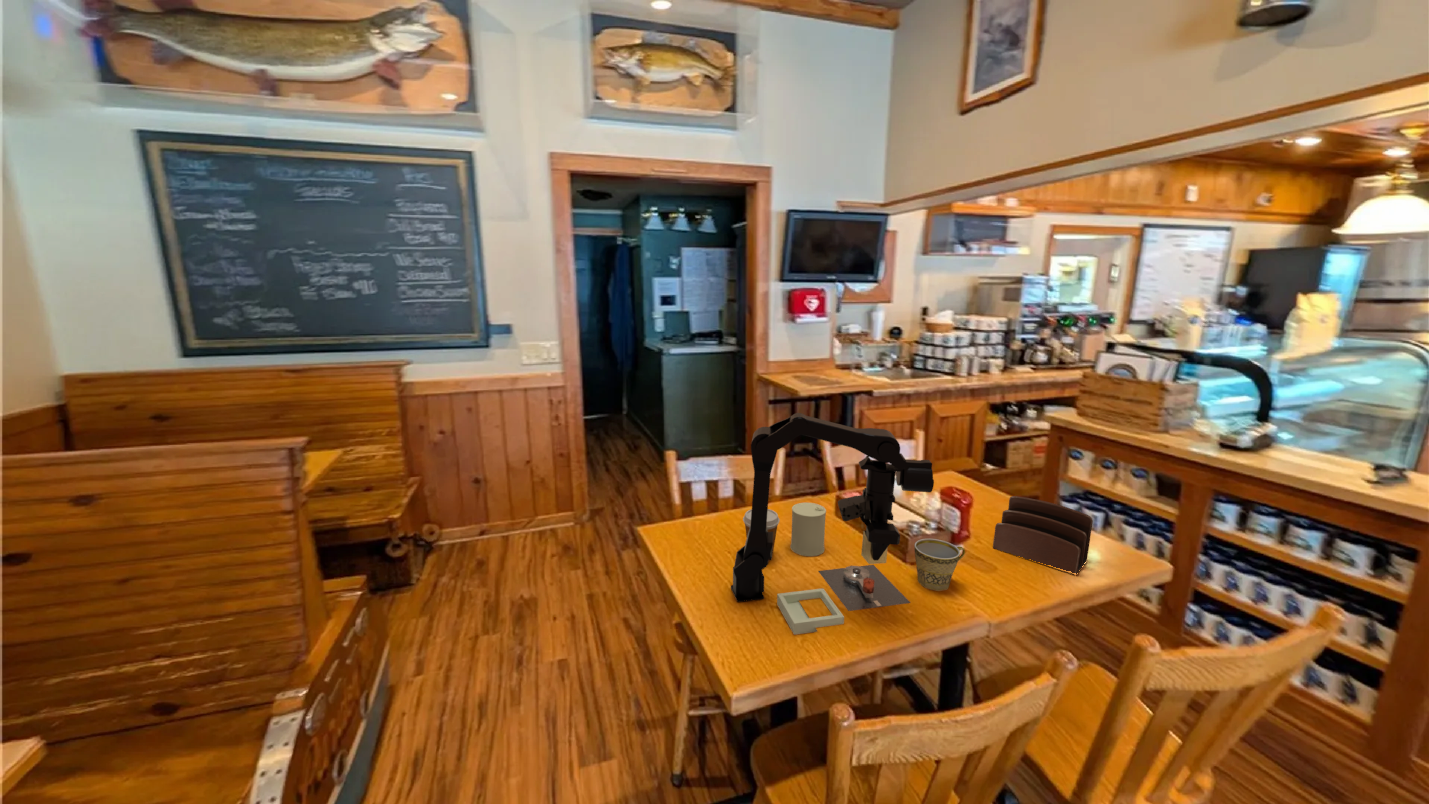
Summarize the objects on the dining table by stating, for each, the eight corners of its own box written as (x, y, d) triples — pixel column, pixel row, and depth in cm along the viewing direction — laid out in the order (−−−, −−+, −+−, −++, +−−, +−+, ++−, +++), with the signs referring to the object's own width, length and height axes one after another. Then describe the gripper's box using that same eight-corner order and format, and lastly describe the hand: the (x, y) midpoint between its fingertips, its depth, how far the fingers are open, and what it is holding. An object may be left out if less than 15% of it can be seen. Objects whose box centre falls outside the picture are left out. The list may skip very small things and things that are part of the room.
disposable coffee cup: (756, 544, 147) (756, 504, 145) (785, 555, 142) (786, 513, 139) (735, 558, 140) (735, 515, 138) (765, 570, 134) (766, 526, 132)
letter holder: (1005, 537, 152) (1011, 491, 149) (1086, 563, 138) (1095, 513, 135) (991, 549, 146) (997, 500, 143) (1076, 577, 131) (1084, 524, 128)
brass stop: (868, 564, 116) (871, 538, 115) (861, 555, 120) (863, 530, 118) (886, 563, 117) (888, 537, 115) (877, 554, 120) (880, 529, 119)
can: (827, 556, 141) (829, 514, 138) (792, 556, 141) (794, 514, 139) (821, 540, 150) (823, 500, 147) (788, 540, 150) (789, 500, 148)
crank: (840, 570, 131) (841, 556, 130) (864, 569, 131) (865, 556, 130) (856, 599, 119) (857, 584, 118) (882, 597, 119) (883, 583, 118)
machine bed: (848, 614, 116) (848, 608, 116) (817, 574, 132) (818, 569, 132) (910, 606, 119) (910, 600, 119) (873, 568, 135) (873, 562, 135)
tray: (793, 634, 109) (794, 623, 109) (777, 604, 120) (777, 593, 119) (843, 627, 111) (844, 616, 111) (822, 598, 122) (823, 588, 121)
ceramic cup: (928, 601, 121) (932, 561, 119) (902, 578, 130) (905, 541, 128) (976, 592, 124) (980, 553, 122) (947, 571, 134) (951, 534, 132)
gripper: (837, 471, 125) (833, 532, 128) (846, 502, 107) (841, 573, 110) (886, 474, 123) (880, 536, 127) (904, 506, 105) (896, 577, 109)
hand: (873, 554), depth 118 cm, fingers closed on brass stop, 5 cm apart
